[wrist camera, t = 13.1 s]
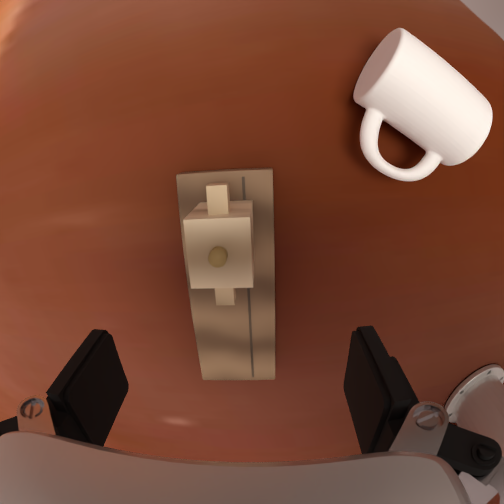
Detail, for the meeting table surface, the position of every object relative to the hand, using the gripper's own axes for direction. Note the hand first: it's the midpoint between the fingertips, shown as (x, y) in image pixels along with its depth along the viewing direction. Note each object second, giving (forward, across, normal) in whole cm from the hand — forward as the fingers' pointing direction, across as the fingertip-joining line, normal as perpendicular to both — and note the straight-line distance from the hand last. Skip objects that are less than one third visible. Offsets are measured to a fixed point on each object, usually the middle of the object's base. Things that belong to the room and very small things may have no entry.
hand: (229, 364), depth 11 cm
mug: (+19, -14, -11) cm, 26 cm away
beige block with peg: (+16, +2, -1) cm, 17 cm away
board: (+19, +2, +5) cm, 19 cm away
